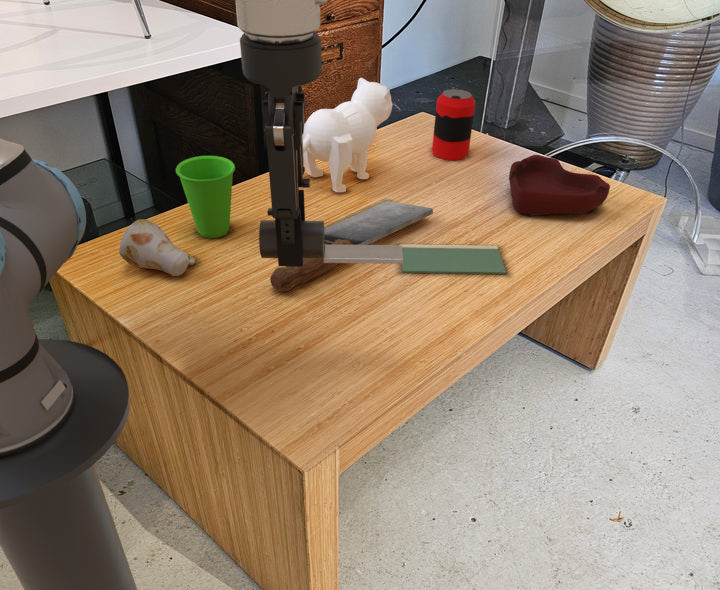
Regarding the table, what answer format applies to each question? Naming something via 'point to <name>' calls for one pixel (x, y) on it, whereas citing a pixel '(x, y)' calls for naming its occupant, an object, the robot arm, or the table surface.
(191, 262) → the pale spotted pear
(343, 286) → the table surface
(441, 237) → the table surface
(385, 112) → the cat figurine
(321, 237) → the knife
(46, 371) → the robot arm
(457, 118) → the soda can
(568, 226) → the table surface
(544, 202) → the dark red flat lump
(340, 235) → the meat cleaver
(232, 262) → the table surface
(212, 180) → the cup
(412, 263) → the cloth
